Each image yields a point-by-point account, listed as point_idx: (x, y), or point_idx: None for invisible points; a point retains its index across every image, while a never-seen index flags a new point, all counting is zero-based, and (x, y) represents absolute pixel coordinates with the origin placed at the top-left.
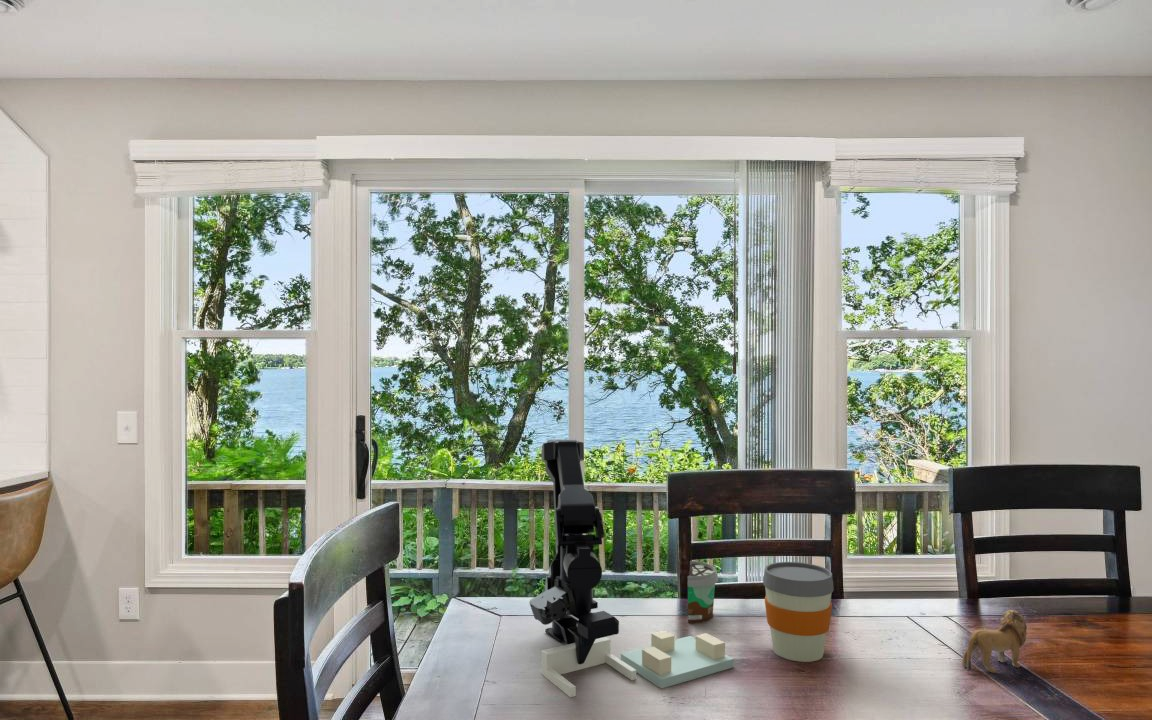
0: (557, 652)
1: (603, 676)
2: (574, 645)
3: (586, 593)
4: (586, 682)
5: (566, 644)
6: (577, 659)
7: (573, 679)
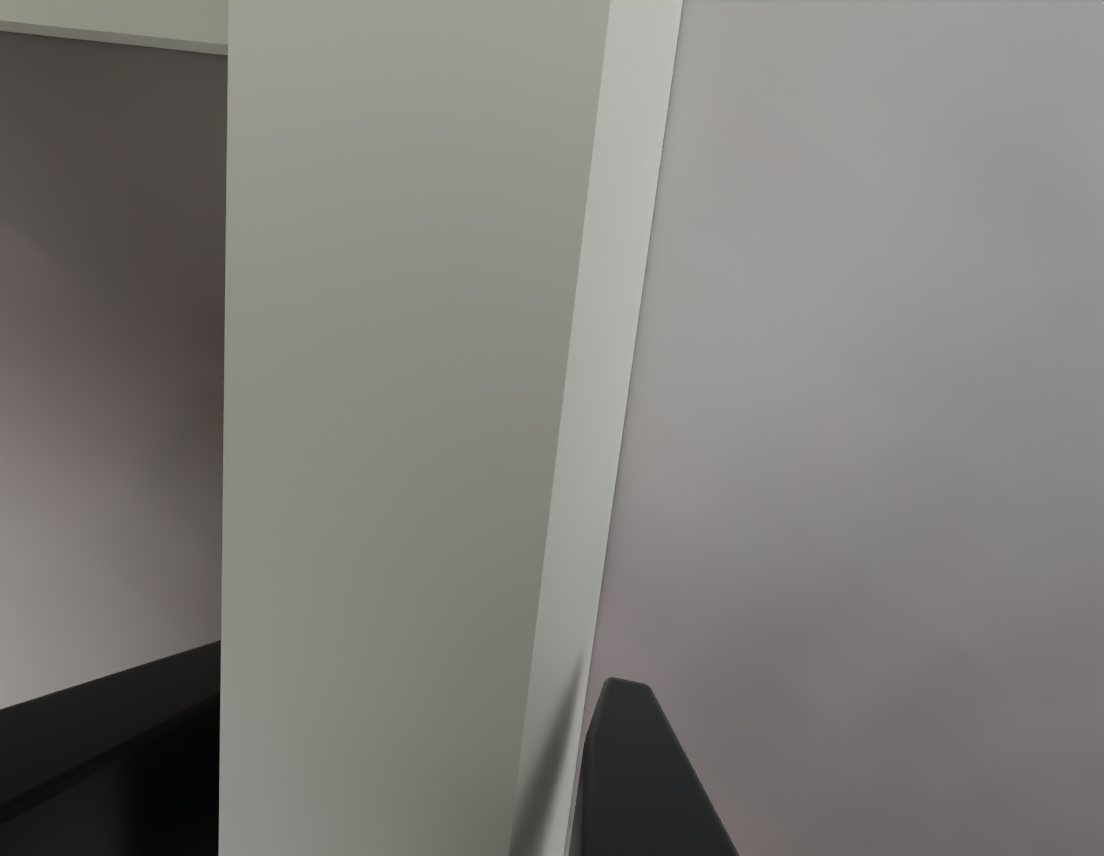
0: (234, 223)
1: None
2: (349, 848)
3: None
4: (23, 413)
5: (657, 810)
6: None
7: (191, 325)
